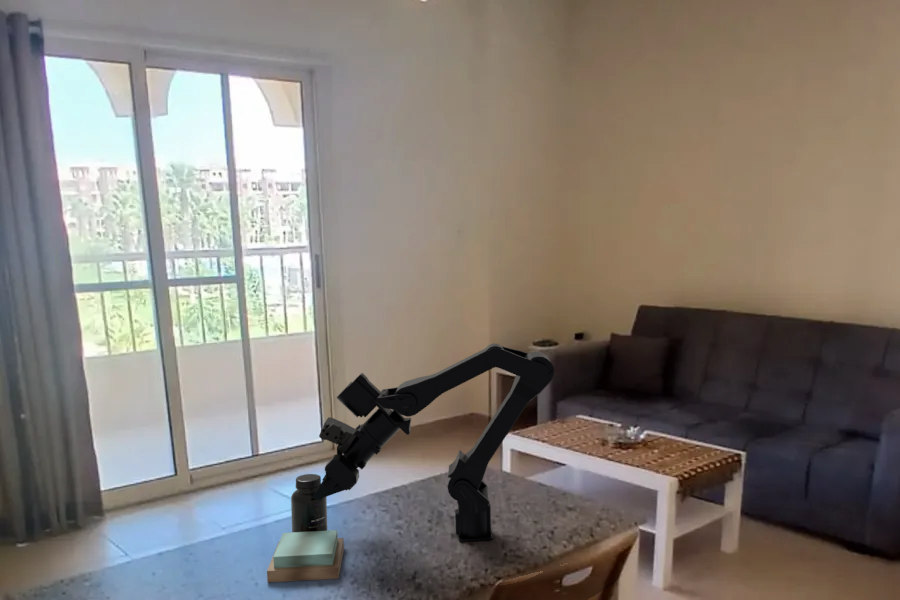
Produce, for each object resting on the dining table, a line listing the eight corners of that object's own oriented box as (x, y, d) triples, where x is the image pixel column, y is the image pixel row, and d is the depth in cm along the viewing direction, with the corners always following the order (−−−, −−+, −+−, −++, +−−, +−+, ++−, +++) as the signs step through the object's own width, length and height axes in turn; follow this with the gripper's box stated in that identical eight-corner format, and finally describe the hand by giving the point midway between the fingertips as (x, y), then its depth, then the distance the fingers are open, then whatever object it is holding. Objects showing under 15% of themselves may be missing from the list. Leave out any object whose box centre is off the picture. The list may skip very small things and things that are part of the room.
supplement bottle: (320, 545, 136) (317, 484, 135) (286, 543, 137) (283, 482, 136) (333, 531, 143) (330, 472, 142) (301, 529, 144) (298, 471, 143)
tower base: (343, 548, 134) (343, 527, 134) (338, 578, 122) (337, 555, 122) (279, 551, 134) (278, 531, 133) (267, 582, 122) (266, 559, 121)
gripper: (351, 394, 147) (300, 447, 148) (335, 417, 128) (276, 477, 129) (390, 431, 147) (339, 484, 148) (380, 459, 129) (321, 519, 130)
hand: (319, 489), depth 139 cm, fingers open, 9 cm apart
